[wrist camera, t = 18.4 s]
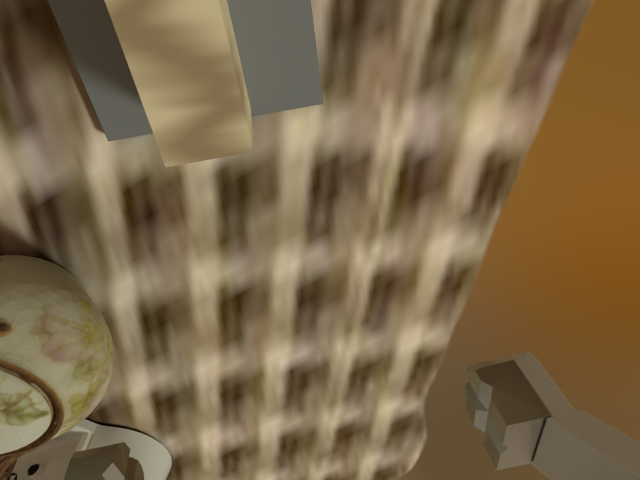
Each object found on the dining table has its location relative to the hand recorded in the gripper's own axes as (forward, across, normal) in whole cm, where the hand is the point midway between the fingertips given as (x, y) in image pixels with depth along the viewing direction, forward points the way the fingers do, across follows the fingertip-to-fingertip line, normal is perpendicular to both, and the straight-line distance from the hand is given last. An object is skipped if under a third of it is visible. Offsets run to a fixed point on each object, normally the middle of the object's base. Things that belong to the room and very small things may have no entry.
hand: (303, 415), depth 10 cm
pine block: (+18, +3, -1) cm, 19 cm away
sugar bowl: (+23, +21, +11) cm, 33 cm away
